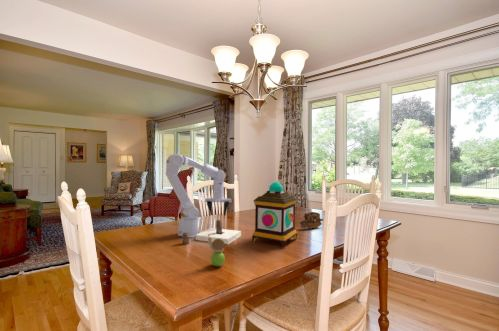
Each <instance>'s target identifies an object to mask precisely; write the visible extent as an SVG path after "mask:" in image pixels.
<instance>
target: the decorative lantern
mask: <svg viewBox="0 0 499 331" xmlns="http://www.w3.org/2000/svg"><path fill="white" fill-rule="evenodd" d="M297 202H298V199H297V198H296V197H294V196H293V195H290V194H289V193H287V192H286V191H285V190H284V187H283V185H282V184H281V183H280V182H279V181H278V180H277V181H273V182H271V184H270V185H269V186H268V190H266V192H265V193H263V194H262V195H260V196H259V195H258V196H257V197H256V198H255V199H253V204H254V207H255V208H254V209H255V211H254V212H255V218H254V222H255V223H254V228H255V229H254V231H253V234H252V235H251V240H252V243H256V240H257V238H258V239H264V240H269V241H273V242H274V241H275V242H280V243H281V246H282V249H284V248H285V247H286V244H287V243H286V242H288V241H289V240H290V239H292V238H293V239H294V240H295V239H296V240H297V238H298V232H297V230H296V227H295V226H296V225H295V224H296V222H295V221H296V220H295V218H296V215H295V214H296V203H297Z"/></svg>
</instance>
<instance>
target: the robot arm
mask: <svg viewBox="0 0 499 331" xmlns="http://www.w3.org/2000/svg"><path fill="white" fill-rule="evenodd" d="M165 164H166V166H165V176H166V178H167V180H168V182H169V183H170V186H171V187H172V189H173V191H174V193H175V195H176V196H177V199H178V200H179V202H180V206H181V208H182V213H183V215H184V217H181V218H180V219H179V221H178V234H177V236H178V237H179V236H180V237H183V233H185V232H188V233H189V238H190V239H191V238H196V235H197V234H199V233H200V232H198V227H199V226H198V221H199V220H198V217H199V215H200V209H198V208H197V207H196V205H194V203H193V202H192V200H191V199H190V197H189V196H188V193H187V192H186V191H187V190H186V189H185V187H184V186H183V184H182V182H181V180H180V178H179V176H178V172H179V170H180V168H181V167H182V166H186V165H187V166H190V167H192V168H195V169H197V170H200V172H201V174H203V175H206V176H208V177H211V178H212V179H213V182H212V183H213V184H212V185H213V188H212V190H213V191H212V192H213V193H212V195H213V196H212V197H209V198H207V197H205V199H204V202H205V203H206V205H207V208H208V209H209V210H208V211H209V215H210V216H213V203H224V206H223V207H224V208H223V209H224V210H223V216H224V217H225V216H226V215H227V210H228V207H229V204H231V203H232V198H226V197H224V189H225V188H224V185H225V183H224V180H225V179H226V173H225V171H224V170H223V169H219V167H217V166H216V167H215V166H212V165H211V163H201V162H198V161H197V160H195V159H193V158H190V157H188V156H185V155H181V154H180V153H176V154H175V153H174V154H170V155H169V156H168V157H167V159H166V162H165Z"/></svg>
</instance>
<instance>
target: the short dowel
mask: <svg viewBox="0 0 499 331" xmlns="http://www.w3.org/2000/svg"><path fill="white" fill-rule="evenodd" d="M189 244H190V237H189V233H188V232H185V233H183V236H182V245H185V246H186V245H189Z"/></svg>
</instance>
